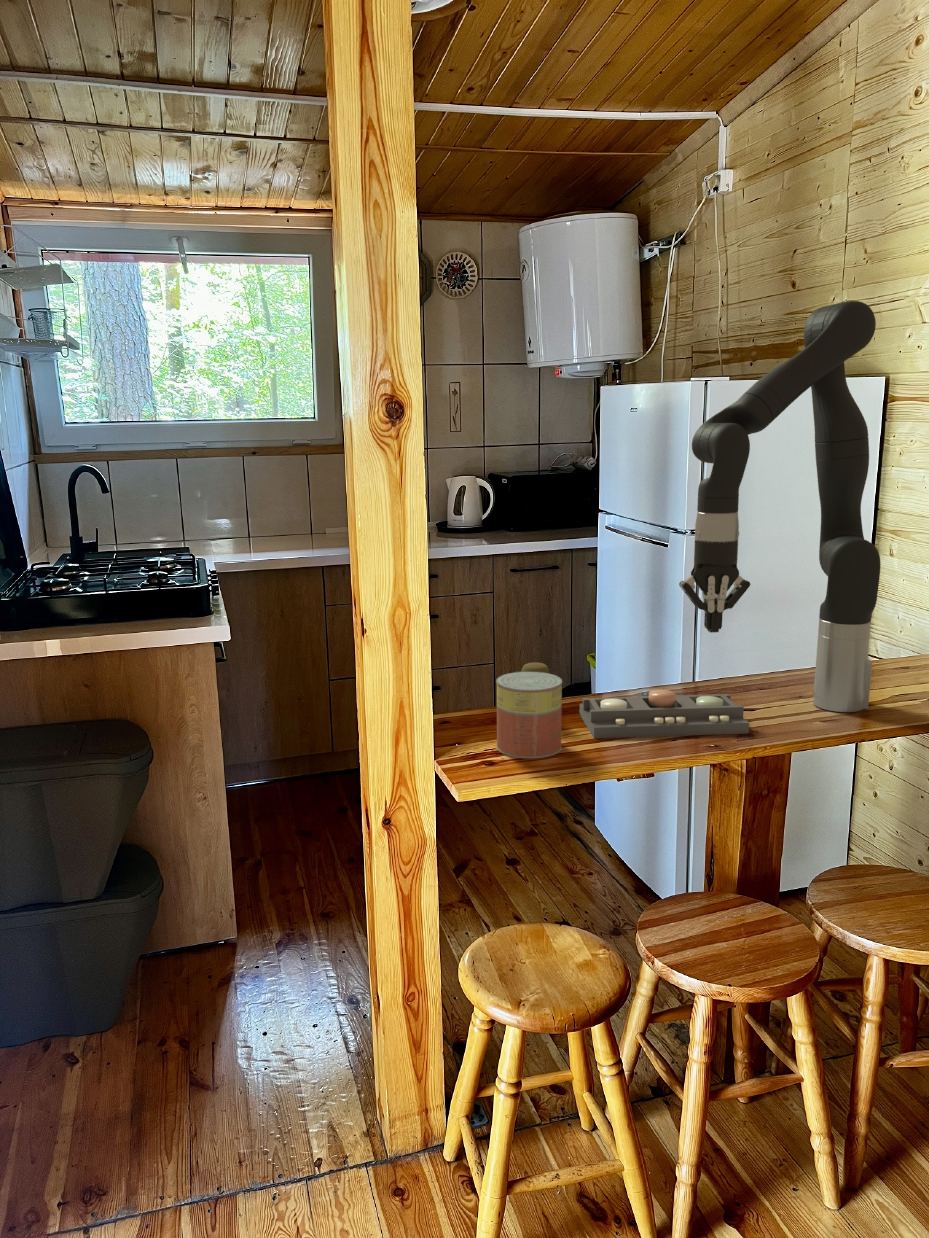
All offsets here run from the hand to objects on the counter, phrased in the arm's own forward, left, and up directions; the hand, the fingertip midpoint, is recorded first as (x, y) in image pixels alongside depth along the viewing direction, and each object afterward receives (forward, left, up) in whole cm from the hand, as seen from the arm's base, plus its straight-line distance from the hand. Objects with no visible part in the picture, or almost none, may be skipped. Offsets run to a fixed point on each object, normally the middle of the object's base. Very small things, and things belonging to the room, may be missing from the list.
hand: (712, 631), depth 169 cm
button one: (+18, 0, -15) cm, 23 cm away
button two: (0, 0, -15) cm, 15 cm away
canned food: (+35, +10, -18) cm, 40 cm away
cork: (+32, -4, -17) cm, 37 cm away
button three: (+9, 0, -13) cm, 16 cm away
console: (+9, 0, -17) cm, 19 cm away
